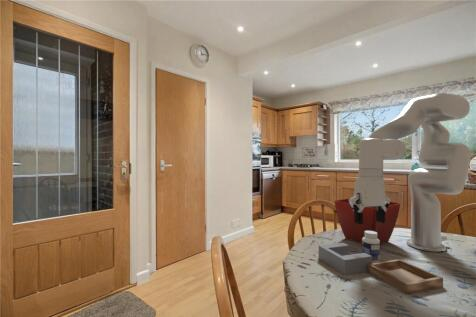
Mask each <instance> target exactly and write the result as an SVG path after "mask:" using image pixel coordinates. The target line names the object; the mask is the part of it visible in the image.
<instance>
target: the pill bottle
mask: <svg viewBox="0 0 476 317" xmlns="http://www.w3.org/2000/svg"><path fill="white" fill-rule="evenodd" d="M364 235H365V237H363V238H362V243H361V253H366V254H368V255H371V256H372V263H378V262H381V261H380V259H381V257H380V256H381V255H380V254H381V253H380V250H381V247H380V245H381V244H380V241H379V239H377V232H374V231H365V232H364Z"/></svg>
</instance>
